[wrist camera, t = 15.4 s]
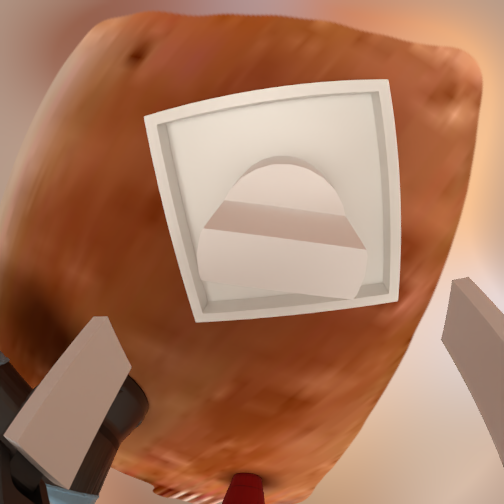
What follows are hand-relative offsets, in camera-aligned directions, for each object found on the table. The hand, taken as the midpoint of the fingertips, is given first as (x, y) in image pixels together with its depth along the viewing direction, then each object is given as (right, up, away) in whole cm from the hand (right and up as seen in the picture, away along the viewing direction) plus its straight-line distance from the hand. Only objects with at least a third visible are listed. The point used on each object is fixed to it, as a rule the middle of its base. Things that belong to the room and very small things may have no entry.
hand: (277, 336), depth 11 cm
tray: (+2, +7, +17) cm, 19 cm away
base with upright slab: (+2, +7, +16) cm, 18 cm away
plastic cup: (-2, -42, +39) cm, 58 cm away
